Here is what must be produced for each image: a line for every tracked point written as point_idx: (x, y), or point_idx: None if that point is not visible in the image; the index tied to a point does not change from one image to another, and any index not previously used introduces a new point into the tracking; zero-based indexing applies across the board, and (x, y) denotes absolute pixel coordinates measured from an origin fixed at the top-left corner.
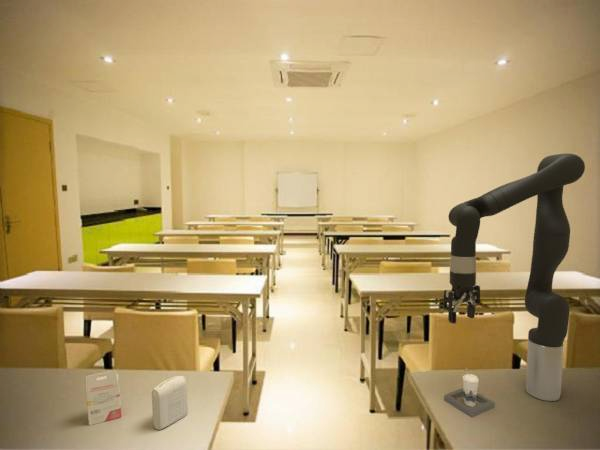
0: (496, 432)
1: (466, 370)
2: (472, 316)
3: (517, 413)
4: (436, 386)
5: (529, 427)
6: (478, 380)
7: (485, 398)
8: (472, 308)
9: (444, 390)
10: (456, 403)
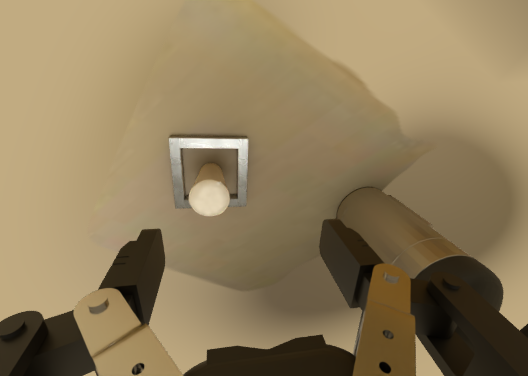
0: (180, 246)
1: (219, 182)
2: (324, 256)
3: (262, 229)
4: (199, 80)
5: (242, 257)
6: (217, 214)
7: (243, 189)
8: (347, 294)
9: (203, 106)
10: (172, 171)
